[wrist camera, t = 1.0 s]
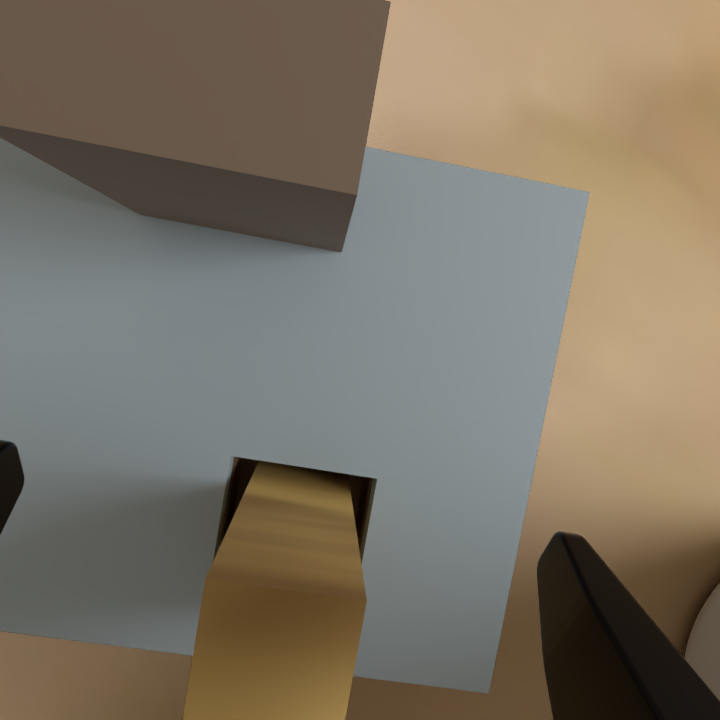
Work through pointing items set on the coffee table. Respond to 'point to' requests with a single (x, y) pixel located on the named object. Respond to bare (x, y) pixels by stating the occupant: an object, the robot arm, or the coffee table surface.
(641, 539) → the coffee table surface
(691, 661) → the cylinder vase
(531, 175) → the coffee table surface
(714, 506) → the coffee table surface
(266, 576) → the golden wooden block
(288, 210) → the grey plate with hole
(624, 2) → the coffee table surface
